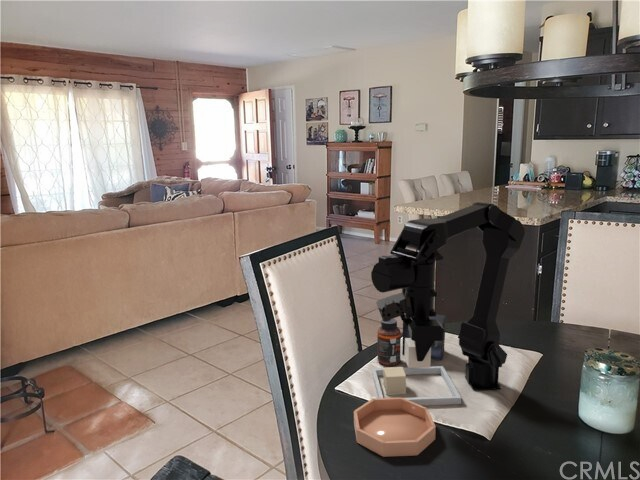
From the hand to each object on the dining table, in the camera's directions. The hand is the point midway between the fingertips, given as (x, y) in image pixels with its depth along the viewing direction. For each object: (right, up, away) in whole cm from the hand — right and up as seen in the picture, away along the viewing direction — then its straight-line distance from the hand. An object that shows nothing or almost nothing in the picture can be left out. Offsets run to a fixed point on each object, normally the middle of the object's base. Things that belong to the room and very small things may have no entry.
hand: (417, 355), depth 98 cm
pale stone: (0, -2, 0) cm, 2 cm away
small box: (+8, -7, +30) cm, 32 cm away
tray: (+2, -11, +12) cm, 16 cm away
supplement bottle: (-2, -8, +26) cm, 27 cm away
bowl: (-6, -14, -4) cm, 16 cm away
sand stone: (-3, -11, +12) cm, 17 cm away
